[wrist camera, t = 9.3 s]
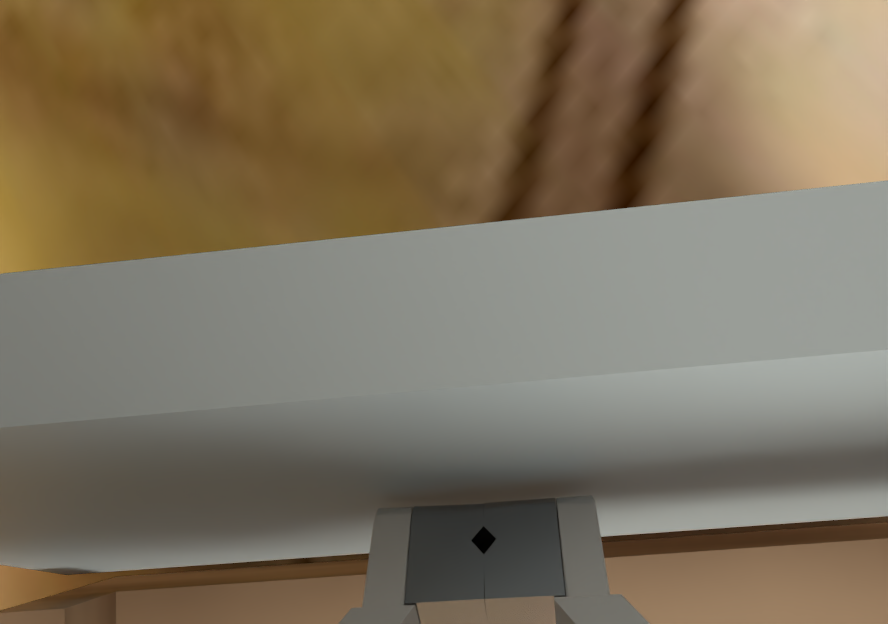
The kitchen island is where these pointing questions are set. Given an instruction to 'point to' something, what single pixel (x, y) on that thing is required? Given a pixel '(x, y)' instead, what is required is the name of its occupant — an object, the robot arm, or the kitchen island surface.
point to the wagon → (627, 565)
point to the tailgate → (450, 381)
